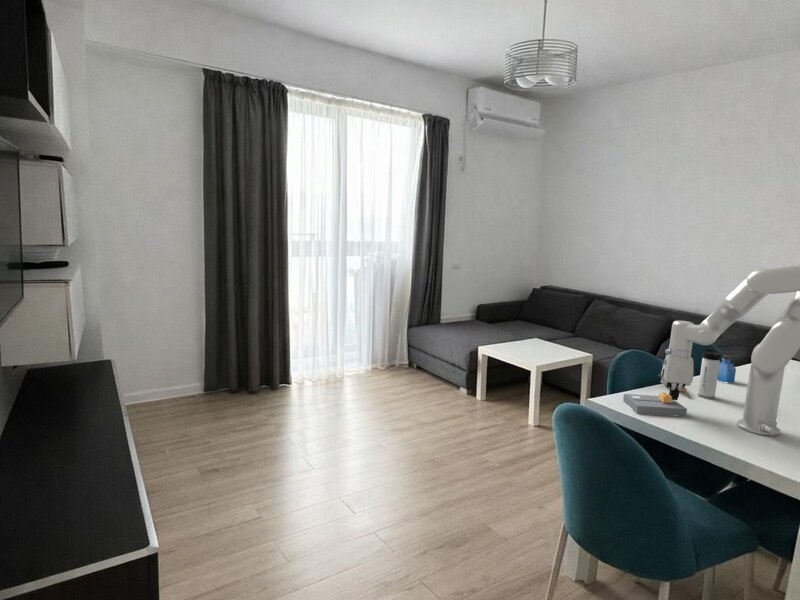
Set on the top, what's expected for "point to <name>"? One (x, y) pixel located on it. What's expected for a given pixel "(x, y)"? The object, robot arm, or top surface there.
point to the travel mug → (709, 374)
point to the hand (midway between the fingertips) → (673, 399)
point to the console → (653, 405)
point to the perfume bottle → (726, 370)
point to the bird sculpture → (675, 384)
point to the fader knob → (665, 397)
